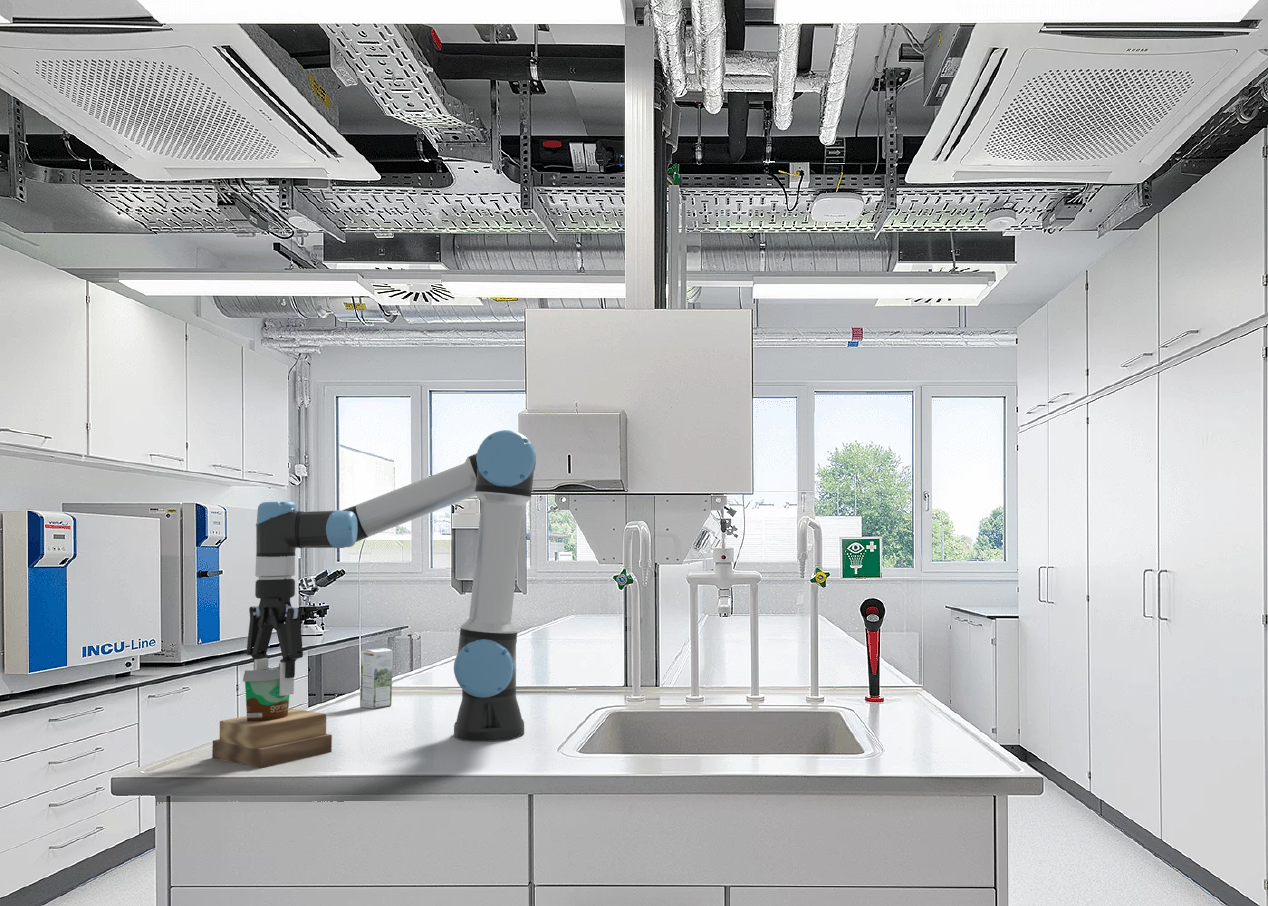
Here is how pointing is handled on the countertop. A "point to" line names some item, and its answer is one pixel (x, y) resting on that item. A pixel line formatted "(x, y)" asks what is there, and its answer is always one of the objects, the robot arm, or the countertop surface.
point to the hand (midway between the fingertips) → (273, 692)
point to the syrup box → (376, 678)
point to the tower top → (273, 729)
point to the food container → (264, 695)
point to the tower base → (272, 751)
